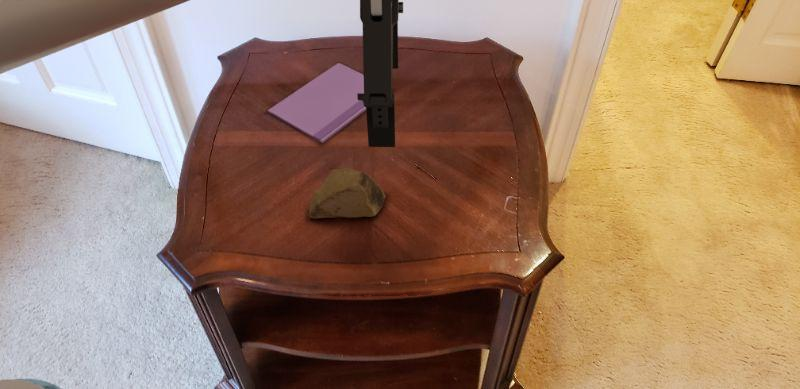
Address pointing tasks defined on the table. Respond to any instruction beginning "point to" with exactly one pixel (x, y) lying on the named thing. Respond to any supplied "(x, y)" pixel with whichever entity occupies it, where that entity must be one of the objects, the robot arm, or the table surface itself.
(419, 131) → the table surface
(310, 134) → the lavender flat block
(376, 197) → the rock
